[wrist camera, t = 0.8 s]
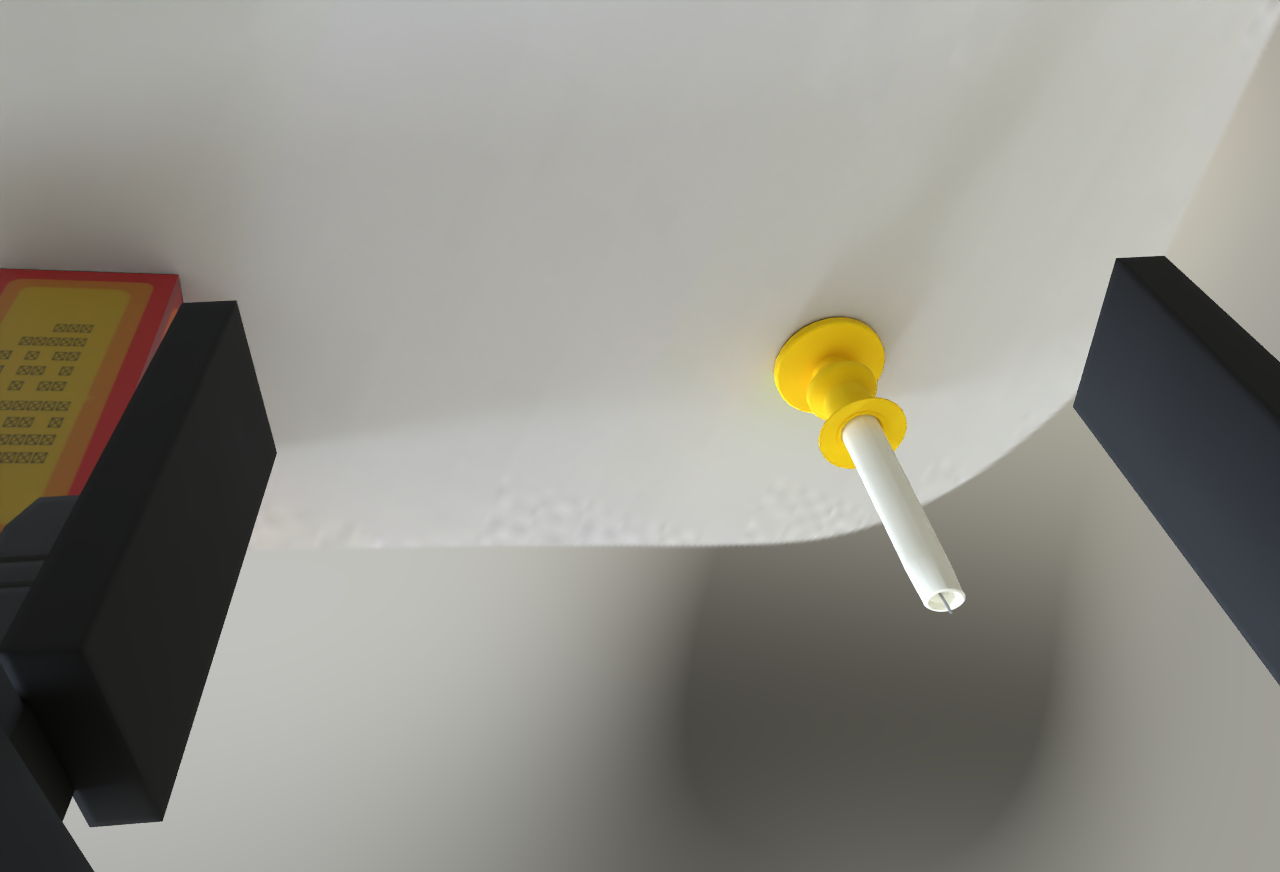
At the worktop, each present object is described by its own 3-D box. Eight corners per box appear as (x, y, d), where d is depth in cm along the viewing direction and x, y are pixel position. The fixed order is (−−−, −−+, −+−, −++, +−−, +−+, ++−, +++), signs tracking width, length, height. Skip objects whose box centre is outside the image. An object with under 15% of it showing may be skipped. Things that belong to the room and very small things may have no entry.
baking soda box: (-2, 268, 40) (-195, 568, 28) (178, 274, 42) (69, 563, 29) (51, 458, 46) (-89, 774, 34) (208, 458, 47) (128, 763, 35)
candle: (824, 424, 52) (940, 677, 40) (750, 374, 49) (850, 629, 37) (903, 352, 50) (1051, 597, 38) (831, 296, 47) (965, 540, 35)
